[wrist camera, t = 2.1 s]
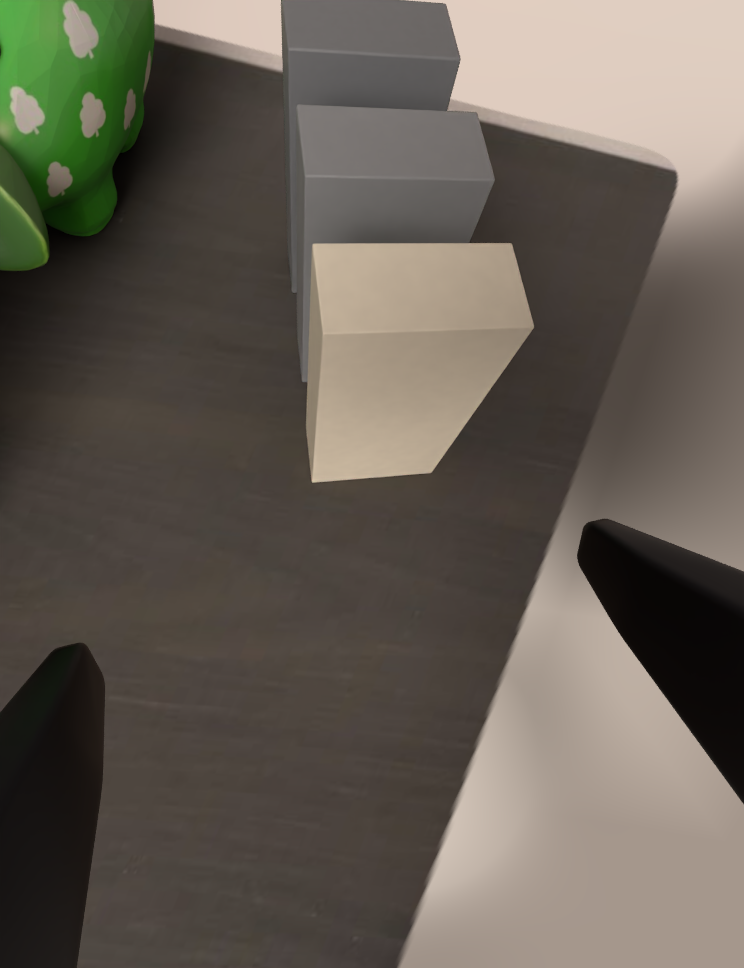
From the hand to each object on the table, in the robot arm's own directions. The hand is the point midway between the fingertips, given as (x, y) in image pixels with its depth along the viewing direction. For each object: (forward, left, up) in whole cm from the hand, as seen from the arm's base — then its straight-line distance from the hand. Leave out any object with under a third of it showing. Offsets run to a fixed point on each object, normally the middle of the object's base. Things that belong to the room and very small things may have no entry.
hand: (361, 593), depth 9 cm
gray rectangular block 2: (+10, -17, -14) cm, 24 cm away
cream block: (+3, -9, -14) cm, 17 cm away
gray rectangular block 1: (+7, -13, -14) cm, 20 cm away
